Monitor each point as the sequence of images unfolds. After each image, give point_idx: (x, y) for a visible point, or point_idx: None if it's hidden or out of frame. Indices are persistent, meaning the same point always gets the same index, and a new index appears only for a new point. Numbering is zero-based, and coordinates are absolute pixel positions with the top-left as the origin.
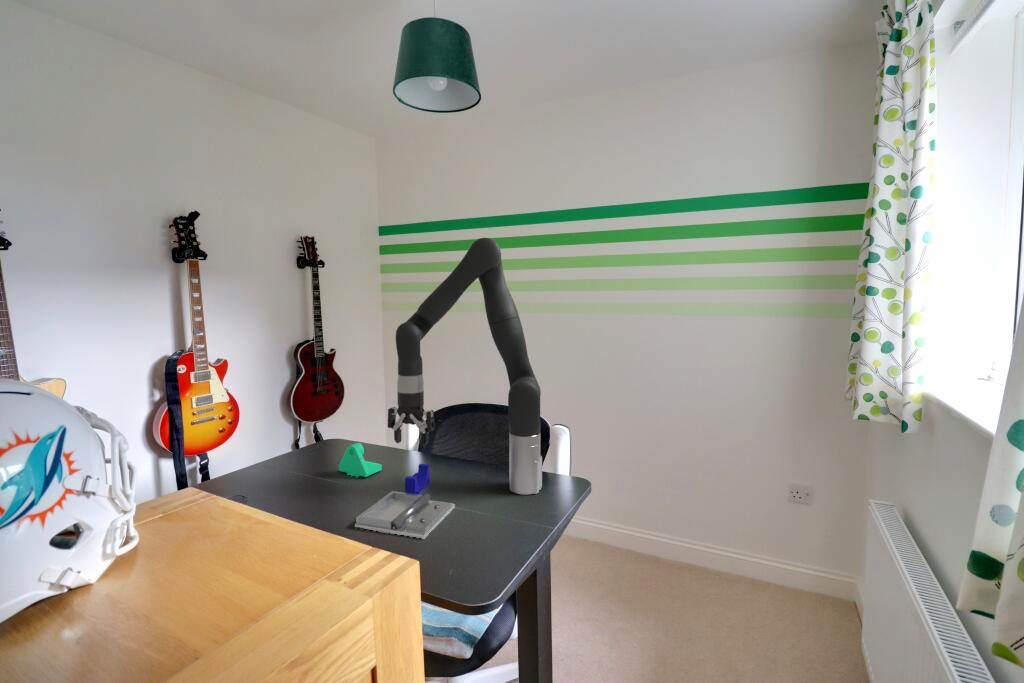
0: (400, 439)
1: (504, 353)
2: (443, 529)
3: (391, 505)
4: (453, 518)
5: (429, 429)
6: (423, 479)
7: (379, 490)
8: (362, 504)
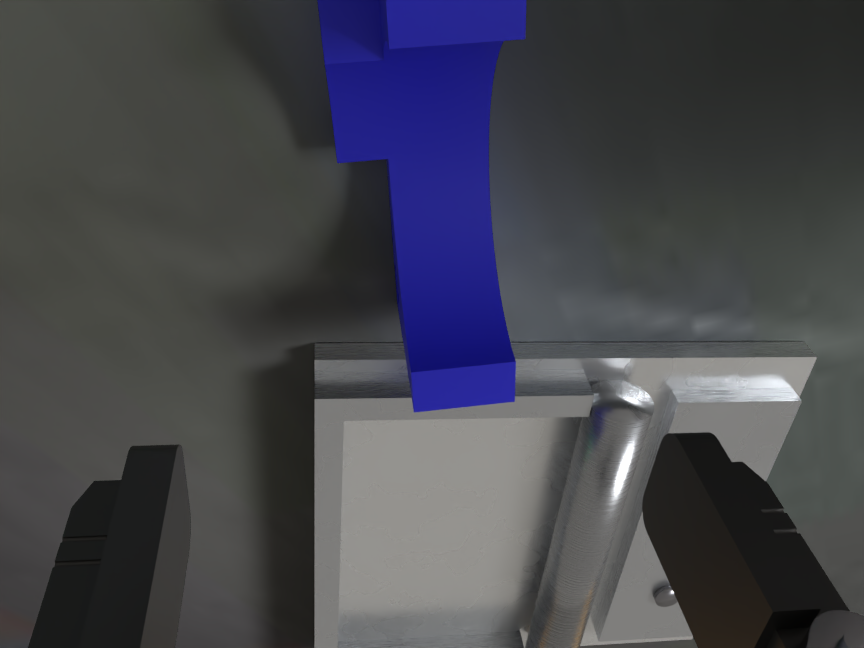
0: (177, 493)
1: None
2: None
3: (390, 478)
4: (804, 453)
5: None
6: (466, 72)
7: (85, 237)
8: None
